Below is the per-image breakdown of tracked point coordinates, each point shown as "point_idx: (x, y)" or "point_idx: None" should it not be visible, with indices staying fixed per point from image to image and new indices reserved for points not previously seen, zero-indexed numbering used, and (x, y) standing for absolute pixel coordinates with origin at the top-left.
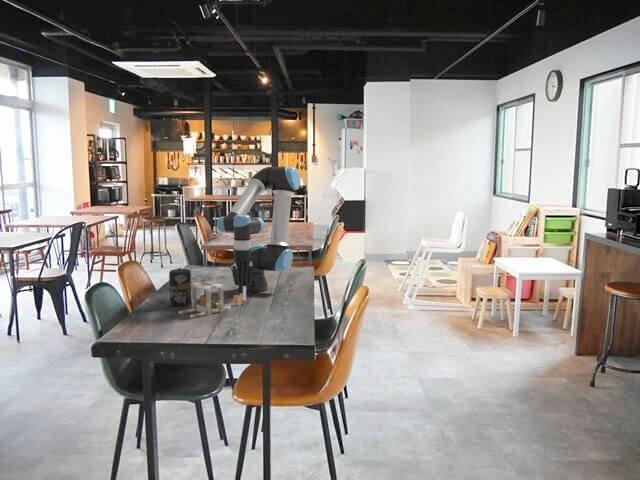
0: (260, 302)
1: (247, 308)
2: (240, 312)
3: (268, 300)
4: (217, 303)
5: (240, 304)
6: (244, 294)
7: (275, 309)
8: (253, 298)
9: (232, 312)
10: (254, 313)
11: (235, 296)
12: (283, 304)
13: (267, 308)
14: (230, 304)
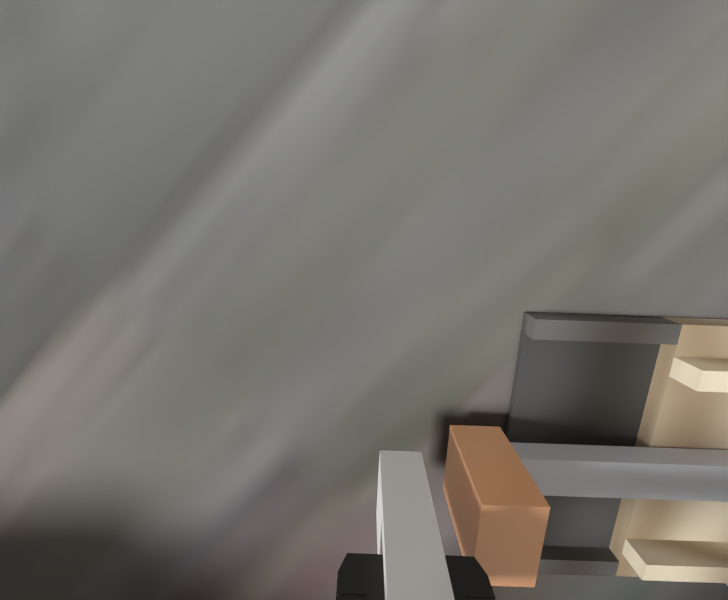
0: (169, 411)
1: (445, 319)
2: (627, 240)
3: (47, 414)
4: (661, 573)
5: (461, 427)
6: (415, 515)
7: (245, 11)
8: (125, 568)
9: (675, 306)
10: (570, 68)
11: (539, 547)
12: (4, 142)
13: (286, 140)
14: (599, 460)
